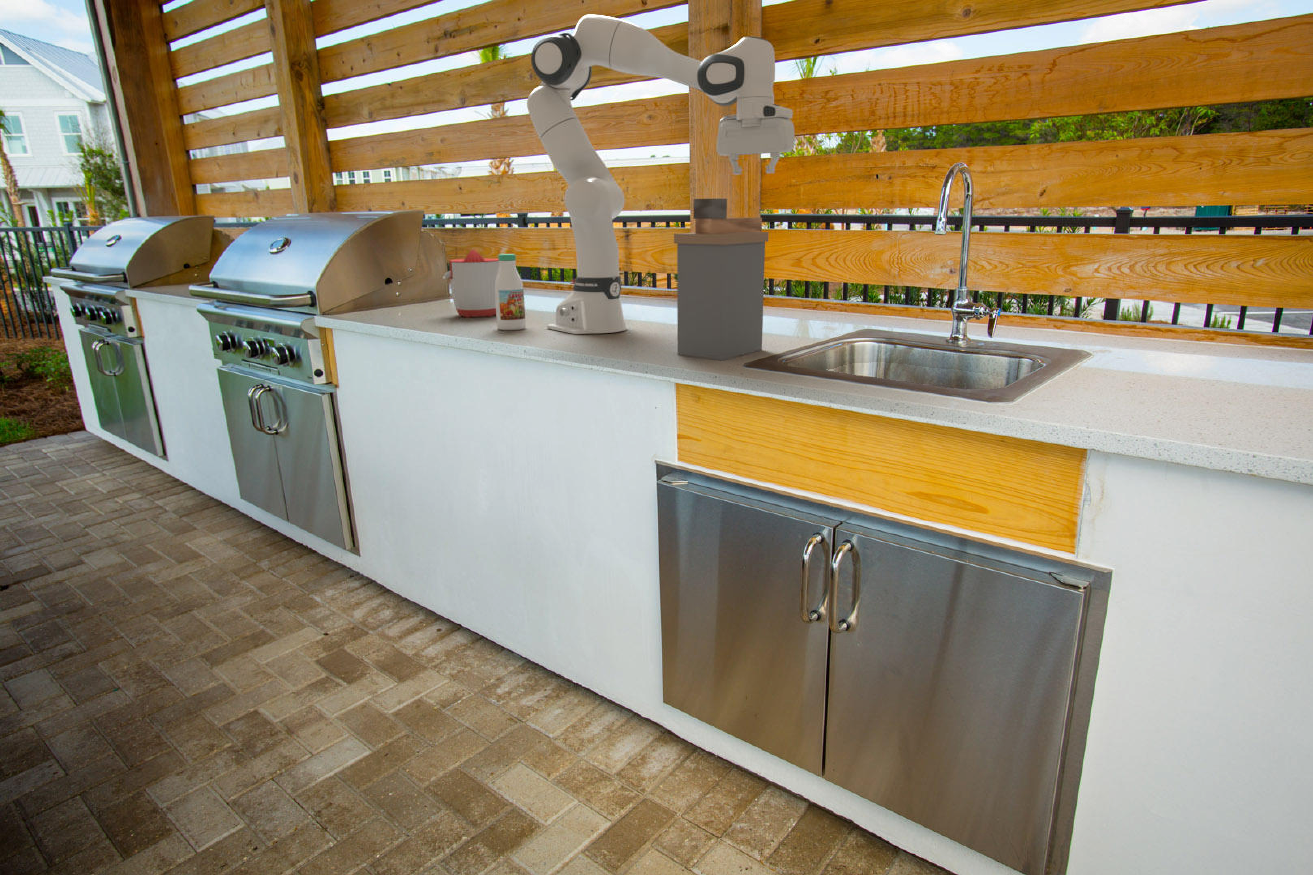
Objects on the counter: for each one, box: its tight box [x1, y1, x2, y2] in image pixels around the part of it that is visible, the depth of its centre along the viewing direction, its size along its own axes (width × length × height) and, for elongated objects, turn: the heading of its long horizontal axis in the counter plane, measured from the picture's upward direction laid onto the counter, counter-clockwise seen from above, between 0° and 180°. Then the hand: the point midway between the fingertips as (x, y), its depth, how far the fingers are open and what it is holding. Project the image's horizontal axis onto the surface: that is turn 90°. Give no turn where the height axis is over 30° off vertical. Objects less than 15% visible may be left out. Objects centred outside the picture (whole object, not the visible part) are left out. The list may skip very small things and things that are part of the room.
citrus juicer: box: [442, 249, 500, 319], centre depth 235 cm, size 16×17×20 cm
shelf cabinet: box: [673, 231, 770, 361], centre depth 169 cm, size 13×17×26 cm
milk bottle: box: [495, 253, 527, 331], centre depth 208 cm, size 8×8×20 cm
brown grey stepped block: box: [693, 198, 763, 234], centre depth 166 cm, size 5×20×7 cm, turn 141°
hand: (753, 174), depth 186 cm, fingers open, 8 cm apart
